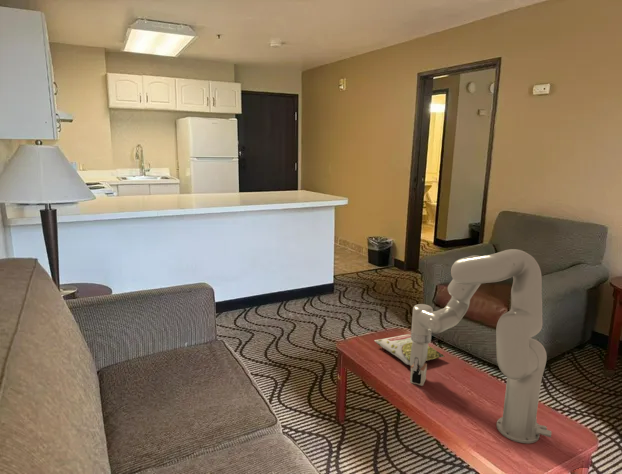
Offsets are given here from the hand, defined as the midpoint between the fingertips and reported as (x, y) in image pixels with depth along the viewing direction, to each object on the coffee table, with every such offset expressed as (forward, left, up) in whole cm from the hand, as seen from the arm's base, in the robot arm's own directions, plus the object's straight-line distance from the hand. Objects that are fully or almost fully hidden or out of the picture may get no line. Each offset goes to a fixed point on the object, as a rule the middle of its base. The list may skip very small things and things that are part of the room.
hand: (418, 378), depth 166 cm
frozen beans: (+10, -21, -1) cm, 23 cm away
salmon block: (0, 0, -1) cm, 1 cm away
